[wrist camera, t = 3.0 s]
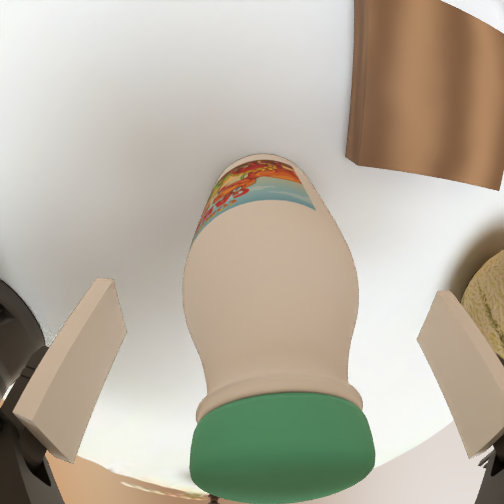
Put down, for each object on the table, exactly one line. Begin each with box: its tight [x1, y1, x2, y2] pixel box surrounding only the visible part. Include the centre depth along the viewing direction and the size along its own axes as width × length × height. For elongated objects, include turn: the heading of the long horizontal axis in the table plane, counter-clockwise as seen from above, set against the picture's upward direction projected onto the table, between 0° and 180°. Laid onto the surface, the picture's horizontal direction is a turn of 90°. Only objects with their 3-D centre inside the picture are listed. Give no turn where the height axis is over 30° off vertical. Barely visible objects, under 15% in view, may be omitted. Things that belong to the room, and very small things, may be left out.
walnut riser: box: [346, 0, 504, 191], centre depth 17 cm, size 14×14×3 cm
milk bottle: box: [182, 154, 375, 504], centre depth 14 cm, size 8×8×20 cm
